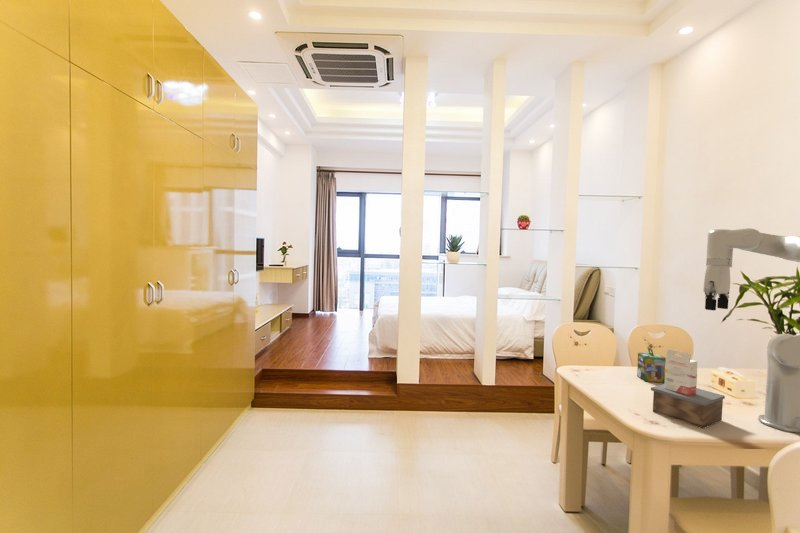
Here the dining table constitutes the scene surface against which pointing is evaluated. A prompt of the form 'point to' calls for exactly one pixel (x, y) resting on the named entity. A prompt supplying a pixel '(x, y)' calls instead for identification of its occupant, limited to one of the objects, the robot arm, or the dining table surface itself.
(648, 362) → the chalk box
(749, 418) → the dining table surface
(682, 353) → the ink cartridge box
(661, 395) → the box
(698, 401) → the lid
